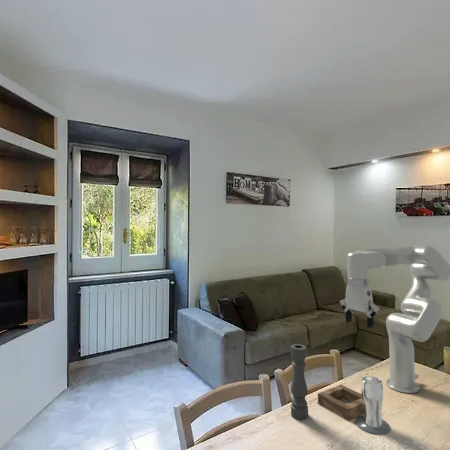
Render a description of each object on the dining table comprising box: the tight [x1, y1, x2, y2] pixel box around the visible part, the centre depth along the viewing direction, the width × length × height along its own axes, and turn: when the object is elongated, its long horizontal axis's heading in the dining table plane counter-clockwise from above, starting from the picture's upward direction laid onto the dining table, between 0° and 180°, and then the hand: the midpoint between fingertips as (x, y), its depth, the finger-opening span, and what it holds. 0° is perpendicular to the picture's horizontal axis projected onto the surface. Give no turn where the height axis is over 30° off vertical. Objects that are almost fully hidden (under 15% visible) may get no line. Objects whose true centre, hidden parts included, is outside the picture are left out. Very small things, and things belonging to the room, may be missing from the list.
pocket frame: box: [317, 384, 364, 422], centre depth 124 cm, size 14×14×4 cm
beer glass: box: [360, 375, 384, 429], centre depth 112 cm, size 7×7×15 cm
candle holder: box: [290, 343, 309, 421], centre depth 118 cm, size 6×6×25 cm
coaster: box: [354, 414, 391, 435], centre depth 111 cm, size 11×11×1 cm
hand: (359, 324), depth 130 cm, fingers open, 9 cm apart
